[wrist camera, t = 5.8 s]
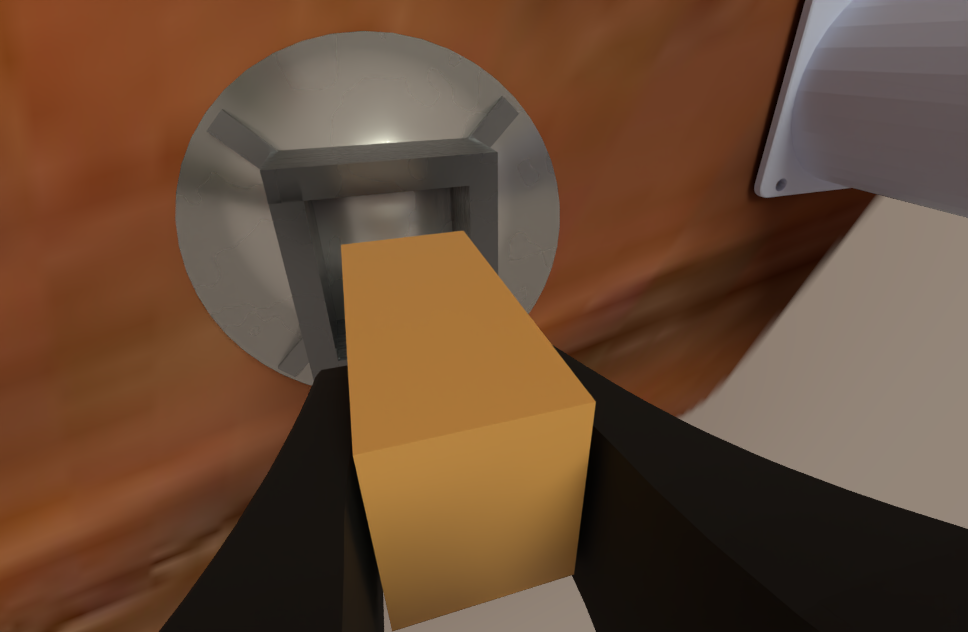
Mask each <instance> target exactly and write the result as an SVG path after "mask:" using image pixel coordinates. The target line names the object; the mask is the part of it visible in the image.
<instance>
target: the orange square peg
mask: <svg viewBox="0 0 968 632" xmlns="http://www.w3.org/2000/svg"><path fill="white" fill-rule="evenodd" d="M341 257H342V274H343V292H344V309H345V327H346V344H347V362H348V379H349V396H350V414H351V431H352V449H353V458H354V463H355V467H356V471H357V476H358V480H359V485H360V489H361V494H362V498H363V503H364V507H365V512H366V516H367V521H368V525H369V529H370V534H371V538H372V543H373V547H374V552H375V556H376V561H377V565H378V570H379V574H380V579H381V583H382V587H383V592H384V596H385V601H386V605H387V610H388V614H389V618H390V623H391V628H392V631H395V630H398V629H401V628H405V627H408V626H411V625H414V624H417V623H421V622H424V621H427V620H430V619H434V618H437V617H440V616H443V615H446V614H449V613H452V612H456V611H459V610H462V609H465V608H468V607H471V606H475V605H478V604H481V603H485V602H488V601H491V600H494V599H497V598H501V597H504V596H507V595H510V594H513V593H516V592H519V591H523V590H526V589H529V588H532V587H535V586H539V585H542V584H545V583H548V582H552V581H554V580H558V579H561V578H564V577H567V576H570V575H574V570H575V562H576V554H577V546H578V538H579V530H580V523H581V515H582V507H583V499H584V491H585V483H586V475H587V467H588V460H589V452H590V444H591V436H592V428H593V420H594V412H595V404H596V401H595V400H594V399H593V398H592V396H591V395H590V394H589V392H588V391H587V390H586V388H585V387H584V386H583V385H582V383H581V382H580V381H579V379H578V378H577V377H576V376H575V374H574V373H573V372H572V370H571V369H570V368H569V366H568V365H567V364H566V363H565V361H564V360H563V359H562V357H561V356H560V355H559V354H558V352H557V351H556V350H555V348H554V347H553V346H552V344H551V343H550V342H549V341H548V339H547V338H546V337H545V335H544V334H543V333H542V332H541V330H540V329H539V328H538V326H537V325H536V324H535V323H534V321H533V320H532V319H531V317H530V316H529V315H528V313H527V312H526V311H525V310H524V308H523V307H522V306H521V304H520V303H519V302H518V301H517V299H516V298H515V297H514V295H513V294H512V293H511V291H510V290H509V289H508V288H507V286H506V285H505V284H504V282H503V281H502V280H501V279H500V277H499V276H498V275H497V273H496V272H495V271H494V269H493V268H492V267H491V266H490V264H489V263H488V262H487V260H486V259H485V258H484V257H483V255H482V254H481V253H480V251H479V250H478V249H477V247H476V246H475V245H474V244H473V242H472V241H471V240H470V238H469V237H468V236H467V235H466V233H465V232H464V231H455V232H447V233H438V234H429V235H421V236H412V237H403V238H395V239H386V240H378V241H369V242H360V243H352V244H343V245H341Z"/></svg>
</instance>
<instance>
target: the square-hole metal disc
mask: <svg viewBox="0 0 968 632" xmlns="http://www.w3.org/2000/svg"><path fill="white" fill-rule="evenodd" d="M559 226H560V205H559V196H558V188H557V182H556V178H555V174H554V170H553V166H552V162H551V159H550V157H549V154H548V152H547V150H546V147H545V145H544V142H543V140H542V138H541V136H540V134H539V132H538V131H537V129H536V127H535V125H534V124H533V122H532V120H531V118H530V117H529V116H528V114H527V113H526V112H525V110H524V109H523V108H522V107H521V105H520V104H519V103H518V101H517V100H516V99H515V98H514V97H513V96H512V95H511V94H510V93H509V92H508V91H507V90H506V89H505V88H504V87H503V86H502V85H501V84H500V83H499V82H498V81H497V80H496V79H495V78H494V77H492V76H491V75H490V74H488V73H487V72H486V71H484V70H483V69H482V68H480V67H479V66H478V65H476V64H475V63H473V62H471V61H470V60H468V59H466V58H464V57H462V56H460V55H459V54H457V53H455V52H453V51H451V50H450V49H447V48H444V47H441V46H439V45H436V44H433V43H431V42H428V41H425V40H423V39H418V38H414V37H409V36H404V35H400V34H395V33H384V32H369V31H358V32H347V33H335V34H329V35H325V36H321V37H317V38H313V39H309V40H305V41H301V42H299V43H296V44H294V45H292V46H289V47H287V48H285V49H282V50H280V51H277V52H275V53H273V54H271V55H270V56H268V57H266V58H265V59H263V60H262V61H260V62H258V63H257V64H255V65H254V66H252V67H250V68H249V69H247V70H246V71H245V72H244V73H243V74H242V75H240V76H239V77H238V78H237V79H236V80H235V81H234V82H232V83H231V84H230V85H229V86H228V87H227V88H226V89H225V90H224V91H223V92H222V93H221V94H220V96H219V97H218V98H217V99H216V101H215V102H214V103H213V104H212V105H211V107H210V108H209V109H208V110H207V112H206V113H205V115H204V116H203V118H202V120H201V122H200V123H199V125H198V127H197V129H196V130H195V132H194V134H193V136H192V138H191V140H190V143H189V145H188V148H187V151H186V154H185V156H184V159H183V162H182V165H181V169H180V175H179V180H178V185H177V191H176V227H177V235H178V242H179V248H180V251H181V255H182V258H183V261H184V265H185V268H186V272H187V274H188V276H189V278H190V280H191V282H192V285H193V287H194V289H195V291H196V293H197V295H198V297H199V298H200V300H201V301H202V303H203V305H204V306H205V308H206V309H207V311H208V312H209V314H210V315H211V317H212V318H213V319H214V320H215V321H216V323H217V324H218V325H219V326H220V327H221V328H222V330H223V331H224V332H225V333H226V334H227V335H228V336H229V337H230V338H231V339H232V340H233V341H234V342H235V343H237V344H238V345H239V346H240V347H241V348H242V349H243V350H244V351H246V352H247V353H249V354H250V355H251V356H253V357H254V358H256V359H257V360H258V361H260V362H261V363H263V364H264V365H266V366H268V367H270V368H272V369H273V370H275V371H277V372H279V373H281V374H283V375H285V376H287V377H290V378H292V379H295V380H297V381H300V382H302V383H305V384H308V385H313V382H314V379H315V377H316V375H317V374H318V373H319V372H320V371H321V370H324V369H329V368H335V367H341V366H346V365H348V362H347V344H346V327H345V309H344V292H343V274H342V257H341V245H343V244H352V243H360V242H369V241H378V240H386V239H395V238H403V237H412V236H421V235H429V234H438V233H447V232H455V231H464V232H465V233H466V235H467V236H468V237H469V238H470V240H471V241H472V242H473V244H474V245H475V246H476V247H477V249H478V250H479V251H480V253H481V254H482V255H483V257H484V258H485V259H486V260H487V262H488V263H489V264H490V266H491V267H492V268H493V269H494V271H495V272H496V273H497V275H498V276H499V277H500V279H501V280H502V281H503V282H504V284H505V285H506V286H507V288H508V289H509V290H510V291H511V293H512V294H513V295H514V297H515V298H516V299H517V301H518V302H519V303H520V304H521V306H522V307H523V308H524V310H525V311H526V312H527V313H528V314H529V312H530V311H531V309H532V308H533V306H534V305H535V303H536V301H537V300H538V298H539V296H540V294H541V292H542V290H543V288H544V286H545V284H546V281H547V278H548V276H549V273H550V271H551V268H552V264H553V260H554V257H555V253H556V249H557V242H558V234H559Z"/></svg>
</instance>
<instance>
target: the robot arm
mask: <svg viewBox="0 0 968 632" xmlns="http://www.w3.org/2000/svg"><path fill="white" fill-rule="evenodd" d="M778 181H779V182H778ZM777 182H778V184H777ZM776 184H777V186H776ZM846 188H855V189H859V190H863V191H866V192H870V193H874V194H878V195H882V196H886V197H890V198H893V199H897V200H901V201H905V202H909V203H913V204H917V205H920V206H924V207H928V208H932V209H936V210H940V211H943V212H947V213H951V214H955V215H959V216H963V217H966V218H968V0H805V3H804V7H803V10H802V14H801V18H800V21H799V25H798V29H797V32H796V36H795V40H794V43H793V47H792V50H791V54H790V58H789V61H788V65H787V69H786V72H785V76H784V80H783V83H782V87H781V91H780V94H779V98H778V101H777V105H776V109H775V112H774V116H773V120H772V123H771V127H770V131H769V134H768V138H767V142H766V145H765V149H764V152H763V156H762V160H761V163H760V167H759V171H758V174H757V178H756V182H755V186H754V191H755V193H756V194H757V195H758V196H761V197H765V198H769V197H778V196H786V195H795V194H803V193H812V192H820V191H829V190H837V189H846ZM552 346H553V345H552ZM553 347H554V348H555V350H556V351H557V352H558V354H559V355H560V356H561V357H562V359H563V360H564V361H565V363H566V364H567V365H568V366H569V368H570V369H571V370H572V372H573V373H574V374H575V376H576V377H577V378H578V379H579V381H580V382H581V383H582V385H583V386H584V387H585V388H586V390H587V391H588V392H589V394H590V395H591V396H592V398H593V399H594V400H595V401H596V404H595V412H594V420H593V428H592V436H591V444H590V452H589V460H588V467H587V475H586V483H585V491H584V499H583V507H582V515H581V523H580V530H579V538H578V546H577V554H576V562H575V570H574V575H572V577H573V579H574V581H575V583H576V585H577V588H578V590H579V592H580V594H581V596H582V598H583V601H584V603H585V605H586V608H587V610H588V613H589V615H590V618H591V620H592V623H593V625H594V628H595V630H596V632H968V529H966V528H963V527H960V526H957V525H953V524H950V523H947V522H944V521H941V520H938V519H934V518H931V517H928V516H925V515H922V514H918V513H915V512H912V511H909V510H905V509H902V508H899V507H896V506H893V505H890V504H887V503H884V502H881V501H878V500H875V499H873V498H870V497H866V496H863V495H861V494H857V493H855V492H852V491H849V490H846V489H844V488H841V487H838V486H835V485H833V484H830V483H827V482H825V481H822V480H819V479H817V478H814V477H812V476H809V475H806V474H804V473H801V472H798V471H796V470H793V469H790V468H788V467H785V466H783V465H780V464H778V463H775V462H773V461H770V460H768V459H765V458H763V457H760V456H758V455H756V454H754V453H751V452H749V451H747V450H744V449H742V448H740V447H738V446H736V445H733V444H731V443H729V442H727V441H724V440H722V439H720V438H718V437H715V436H713V435H711V434H709V433H707V432H705V431H703V430H700V429H698V428H696V427H694V426H692V425H690V424H688V423H686V422H684V421H682V420H680V419H678V418H676V417H674V416H673V415H671V414H669V413H667V412H665V411H663V410H661V409H659V408H657V407H656V406H654V405H652V404H650V403H648V402H646V401H644V400H643V399H641V398H639V397H637V396H635V395H634V394H632V393H630V392H628V391H627V390H625V389H623V388H621V387H620V386H618V385H616V384H615V383H613V382H611V381H610V380H608V379H606V378H605V377H603V376H601V375H600V374H598V373H596V372H595V371H593V370H591V369H590V368H588V367H586V366H585V365H583V364H582V363H580V362H578V361H577V360H575V359H574V358H572V357H571V356H569V355H567V354H566V353H564V352H563V351H561V350H559V349H558V348H556V347H555V346H553ZM159 632H384V609H383V587H382V583H381V579H380V574H379V570H378V565H377V561H376V556H375V552H374V547H373V543H372V538H371V534H370V529H369V525H368V521H367V516H366V512H365V507H364V503H363V498H362V494H361V489H360V485H359V480H358V476H357V471H356V467H355V463H354V458H353V449H352V431H351V414H350V396H349V379H348V365H346V366H341V367H335V368H329V369H324V370H321V371H320V372H319V373H318V374H317V375H316V377H315V379H314V382H313V385H312V387H311V389H310V392H309V394H308V396H307V399H306V401H305V403H304V405H303V407H302V409H301V412H300V414H299V416H298V418H297V420H296V422H295V424H294V426H293V428H292V430H291V432H290V433H289V435H288V437H287V439H286V441H285V443H284V445H283V446H282V448H281V450H280V452H279V454H278V456H277V458H276V459H275V461H274V463H273V465H272V467H271V468H270V470H269V472H268V474H267V475H266V477H265V479H264V480H263V482H262V483H261V485H260V487H259V488H258V490H257V492H256V493H255V495H254V496H253V498H252V500H251V501H250V503H249V505H248V506H247V508H246V509H245V511H244V513H243V514H242V516H241V518H240V519H239V521H238V522H237V524H236V525H235V527H234V528H233V530H232V531H231V533H230V534H229V536H228V537H227V539H226V540H225V542H224V543H223V545H222V546H221V548H220V549H219V551H218V552H217V554H216V555H215V556H214V558H213V559H212V561H211V562H210V564H209V565H208V567H207V568H206V569H205V571H204V572H203V573H202V575H201V576H200V578H199V579H198V580H197V582H196V583H195V584H194V586H193V587H192V589H191V590H190V591H189V593H188V594H187V595H186V597H185V598H184V600H183V601H182V602H181V604H180V605H179V606H178V608H177V609H176V610H175V612H174V613H173V614H172V615H171V617H170V618H169V619H168V621H167V622H166V623H165V624H164V626H163V627H162V628H161V629H160V631H159Z"/></svg>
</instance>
